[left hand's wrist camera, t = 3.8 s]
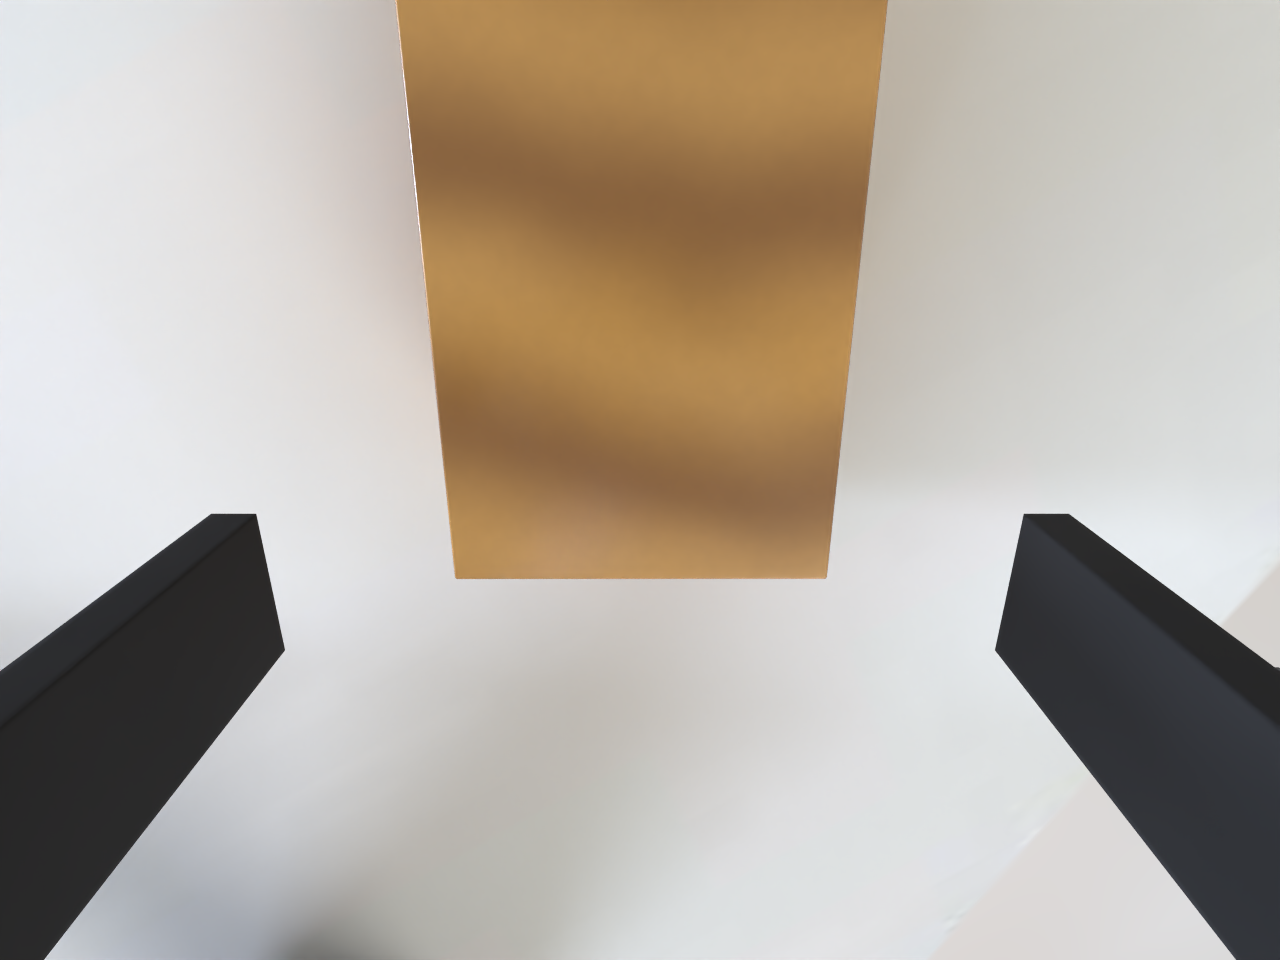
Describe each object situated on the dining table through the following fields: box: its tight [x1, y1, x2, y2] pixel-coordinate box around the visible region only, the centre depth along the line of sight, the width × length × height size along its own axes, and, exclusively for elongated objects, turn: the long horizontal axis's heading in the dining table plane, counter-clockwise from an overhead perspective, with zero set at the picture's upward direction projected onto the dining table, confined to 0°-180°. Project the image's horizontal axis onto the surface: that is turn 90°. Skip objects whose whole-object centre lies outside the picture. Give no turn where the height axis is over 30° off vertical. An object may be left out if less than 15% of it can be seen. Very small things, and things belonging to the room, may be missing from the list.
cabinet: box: [395, 0, 888, 579], centre depth 22 cm, size 22×11×10 cm, turn 0°
